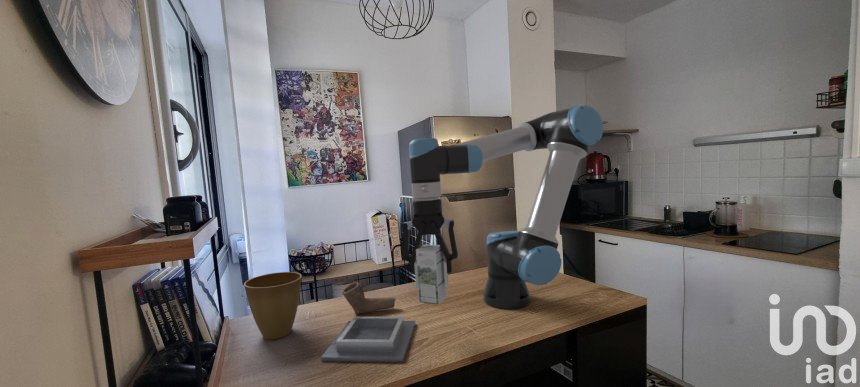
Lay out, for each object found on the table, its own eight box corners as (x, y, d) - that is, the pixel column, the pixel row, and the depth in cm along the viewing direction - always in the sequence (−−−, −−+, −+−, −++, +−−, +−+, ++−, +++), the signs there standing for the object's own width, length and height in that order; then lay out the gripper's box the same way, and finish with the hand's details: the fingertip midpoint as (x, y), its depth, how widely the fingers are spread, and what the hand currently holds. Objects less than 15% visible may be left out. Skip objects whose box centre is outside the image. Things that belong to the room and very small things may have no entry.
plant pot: (299, 342, 94) (295, 284, 93) (240, 349, 92) (235, 290, 91) (309, 319, 109) (306, 269, 107) (259, 325, 106) (254, 273, 105)
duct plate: (415, 324, 102) (415, 312, 102) (403, 362, 82) (402, 348, 82) (349, 324, 104) (348, 312, 104) (321, 361, 84) (320, 347, 84)
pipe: (397, 313, 110) (395, 282, 110) (343, 320, 107) (340, 288, 106) (395, 305, 117) (393, 276, 116) (344, 311, 114) (342, 281, 113)
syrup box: (447, 297, 94) (444, 244, 93) (438, 305, 89) (435, 249, 88) (428, 295, 97) (424, 243, 95) (418, 303, 91) (414, 248, 90)
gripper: (386, 202, 88) (392, 291, 90) (465, 198, 86) (470, 289, 88) (392, 199, 95) (398, 281, 97) (465, 195, 93) (469, 279, 95)
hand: (432, 285), depth 92 cm, fingers closed on syrup box, 7 cm apart
